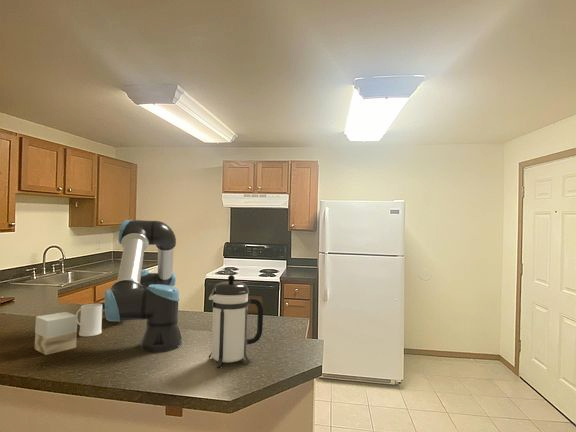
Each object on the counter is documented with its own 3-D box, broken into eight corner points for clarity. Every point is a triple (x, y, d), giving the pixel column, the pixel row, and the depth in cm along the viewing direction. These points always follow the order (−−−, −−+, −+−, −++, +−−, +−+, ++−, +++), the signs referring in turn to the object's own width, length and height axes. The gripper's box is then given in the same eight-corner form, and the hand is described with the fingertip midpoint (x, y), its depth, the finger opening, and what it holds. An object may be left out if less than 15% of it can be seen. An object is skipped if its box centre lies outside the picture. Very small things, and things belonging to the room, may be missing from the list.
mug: (67, 334, 142) (69, 306, 143) (84, 329, 150) (86, 302, 151) (90, 337, 139) (91, 308, 139) (106, 331, 147) (107, 304, 148)
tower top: (76, 331, 128) (77, 315, 128) (46, 338, 119) (47, 321, 120) (64, 326, 133) (65, 311, 133) (35, 332, 125) (35, 316, 125)
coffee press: (240, 373, 107) (242, 279, 109) (197, 365, 113) (201, 275, 114) (262, 355, 124) (264, 273, 125) (224, 349, 129) (227, 270, 131)
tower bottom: (76, 347, 127) (77, 331, 127) (45, 355, 119) (46, 338, 119) (64, 342, 133) (65, 327, 133) (34, 349, 124) (35, 332, 125)
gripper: (152, 310, 174) (128, 321, 153) (107, 308, 177) (77, 318, 156) (152, 295, 174) (128, 304, 153) (108, 293, 177) (78, 301, 156)
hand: (103, 311), depth 154 cm, fingers open, 13 cm apart
